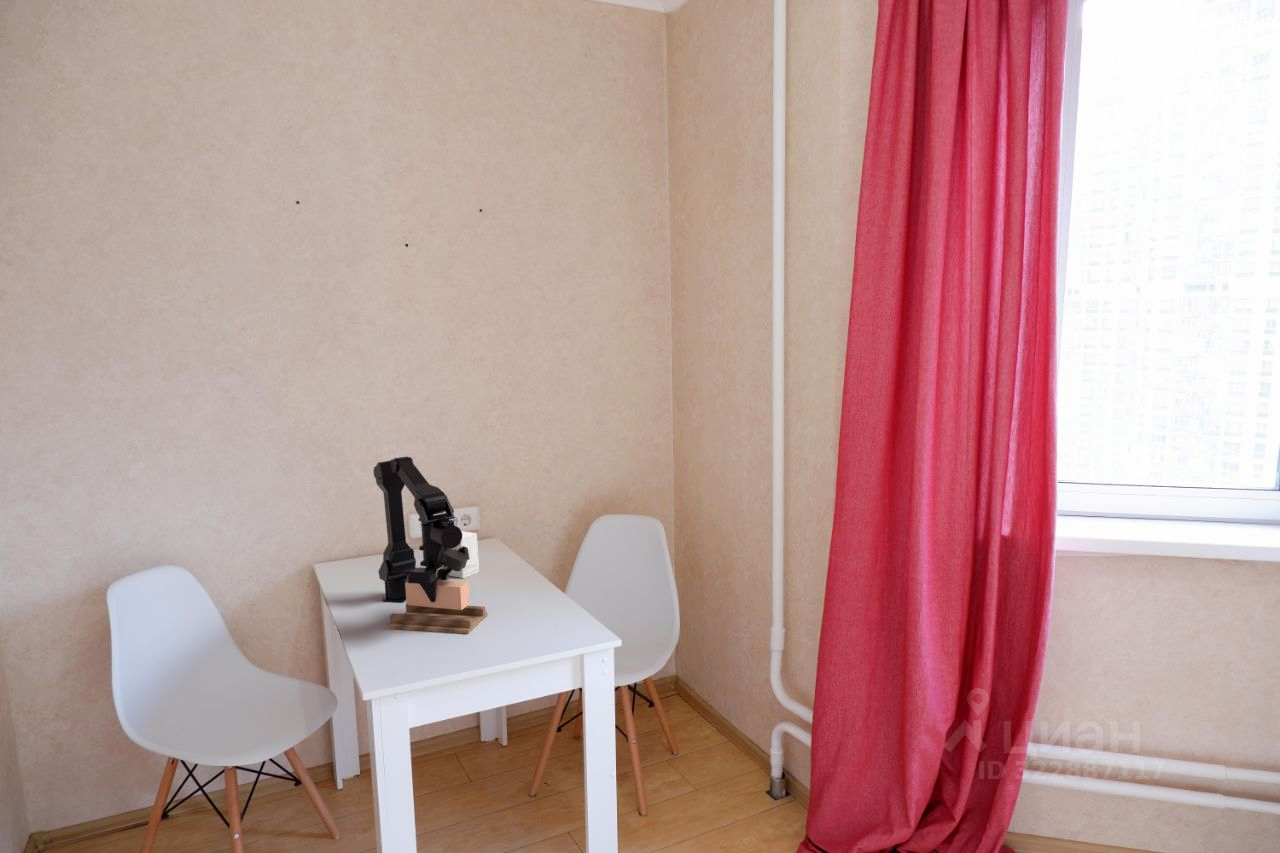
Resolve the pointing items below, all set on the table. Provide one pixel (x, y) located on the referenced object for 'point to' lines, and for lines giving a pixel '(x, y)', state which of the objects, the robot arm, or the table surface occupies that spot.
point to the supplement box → (473, 563)
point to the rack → (438, 619)
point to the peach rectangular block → (439, 595)
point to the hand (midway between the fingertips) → (437, 598)
